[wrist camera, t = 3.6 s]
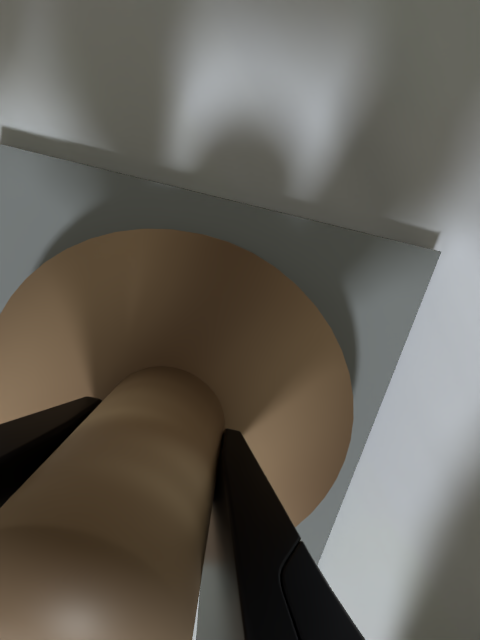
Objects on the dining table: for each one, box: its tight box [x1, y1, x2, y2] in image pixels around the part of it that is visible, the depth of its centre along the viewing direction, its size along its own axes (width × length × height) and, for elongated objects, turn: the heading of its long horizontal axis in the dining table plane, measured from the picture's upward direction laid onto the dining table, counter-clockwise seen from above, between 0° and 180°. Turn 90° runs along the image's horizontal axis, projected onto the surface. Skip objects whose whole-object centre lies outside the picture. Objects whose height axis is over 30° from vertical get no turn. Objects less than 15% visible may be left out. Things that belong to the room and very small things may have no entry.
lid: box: [0, 229, 354, 640], centre depth 6 cm, size 10×10×5 cm
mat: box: [0, 144, 441, 565], centre depth 9 cm, size 12×12×1 cm
